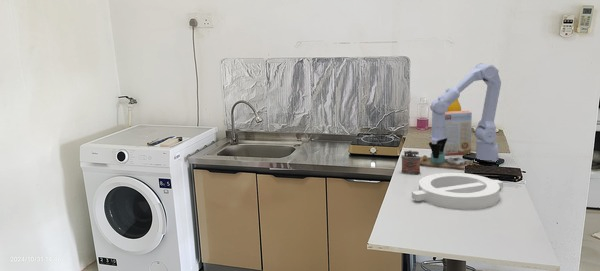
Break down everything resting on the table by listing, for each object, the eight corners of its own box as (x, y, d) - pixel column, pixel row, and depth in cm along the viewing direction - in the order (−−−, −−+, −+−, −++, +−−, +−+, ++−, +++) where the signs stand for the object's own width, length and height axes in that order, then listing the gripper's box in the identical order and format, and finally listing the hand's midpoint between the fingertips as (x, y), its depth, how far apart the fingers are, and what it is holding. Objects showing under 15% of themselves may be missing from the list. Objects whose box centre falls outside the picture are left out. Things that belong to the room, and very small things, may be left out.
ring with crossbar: (504, 189, 175) (504, 177, 174) (492, 215, 152) (493, 201, 151) (430, 180, 190) (430, 169, 189) (409, 203, 166) (409, 190, 165)
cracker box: (467, 151, 228) (469, 110, 224) (471, 155, 223) (472, 112, 218) (438, 152, 230) (439, 111, 225) (441, 155, 224) (441, 113, 220)
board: (471, 163, 209) (471, 155, 209) (465, 170, 199) (466, 162, 198) (421, 158, 221) (421, 151, 220) (413, 165, 211) (413, 157, 210)
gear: (446, 160, 212) (446, 152, 211) (443, 164, 207) (443, 155, 206) (432, 159, 215) (432, 150, 214) (428, 162, 210) (428, 154, 209)
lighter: (400, 173, 200) (400, 150, 198) (402, 171, 203) (402, 149, 201) (419, 175, 196) (419, 152, 194) (421, 172, 199) (421, 150, 197)
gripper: (433, 123, 215) (433, 151, 218) (425, 129, 203) (424, 159, 206) (449, 124, 212) (448, 152, 215) (441, 130, 200) (440, 160, 203)
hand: (438, 156), depth 210 cm, fingers open, 7 cm apart
